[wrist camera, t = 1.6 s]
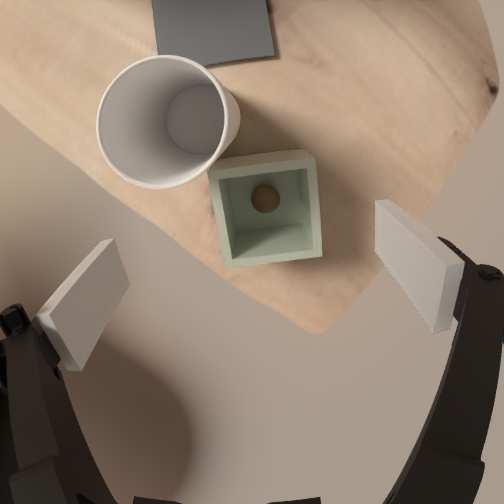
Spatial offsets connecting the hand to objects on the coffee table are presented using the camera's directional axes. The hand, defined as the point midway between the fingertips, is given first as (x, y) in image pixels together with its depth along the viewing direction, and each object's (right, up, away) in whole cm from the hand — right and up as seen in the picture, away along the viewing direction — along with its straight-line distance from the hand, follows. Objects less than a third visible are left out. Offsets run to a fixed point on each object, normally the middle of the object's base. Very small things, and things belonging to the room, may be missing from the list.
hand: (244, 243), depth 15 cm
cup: (-5, +14, +16) cm, 22 cm away
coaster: (-4, +25, +11) cm, 27 cm away
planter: (+2, +6, +19) cm, 20 cm away
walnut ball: (+2, +6, +18) cm, 19 cm away
